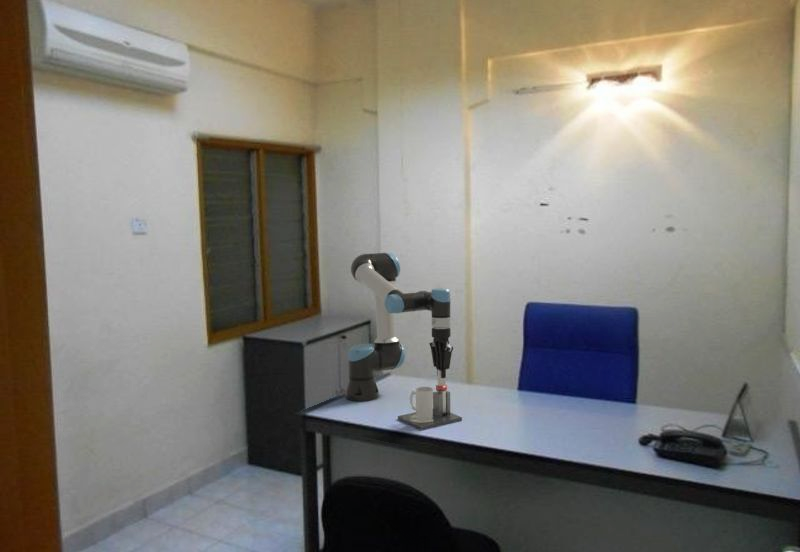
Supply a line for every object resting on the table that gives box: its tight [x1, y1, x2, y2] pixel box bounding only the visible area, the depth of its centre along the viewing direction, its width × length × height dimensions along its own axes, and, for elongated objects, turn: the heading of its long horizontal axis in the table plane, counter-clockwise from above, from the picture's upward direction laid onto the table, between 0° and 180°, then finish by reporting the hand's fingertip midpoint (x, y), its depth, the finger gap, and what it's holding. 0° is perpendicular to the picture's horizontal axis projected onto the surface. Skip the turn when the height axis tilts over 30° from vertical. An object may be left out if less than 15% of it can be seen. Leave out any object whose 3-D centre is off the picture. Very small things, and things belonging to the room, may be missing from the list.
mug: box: [409, 386, 434, 421], centre depth 238 cm, size 10×7×12 cm, turn 55°
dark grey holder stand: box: [397, 390, 463, 431], centre depth 240 cm, size 16×20×10 cm
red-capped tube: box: [435, 384, 448, 413], centre depth 243 cm, size 4×4×11 cm
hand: (441, 385), depth 242 cm, fingers closed
